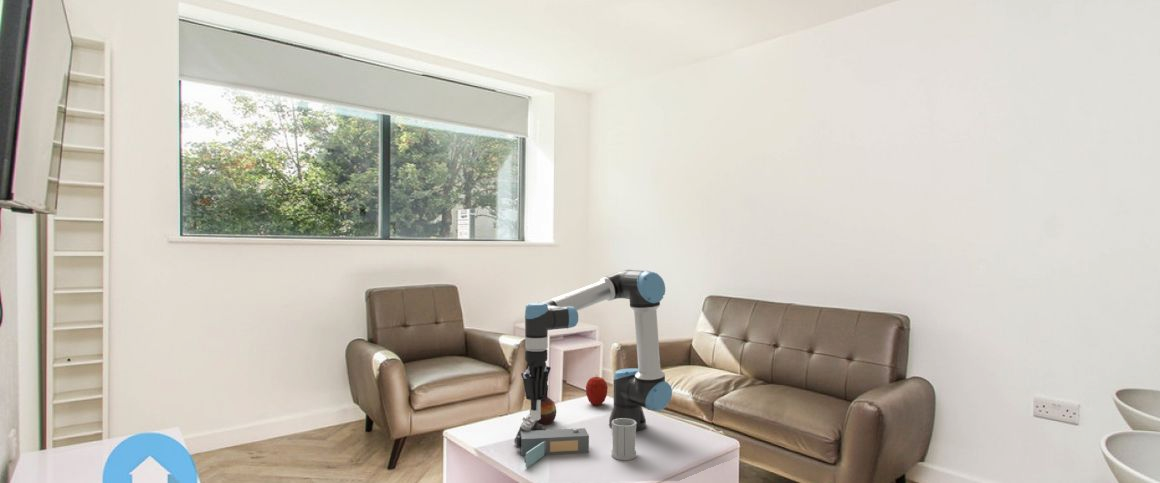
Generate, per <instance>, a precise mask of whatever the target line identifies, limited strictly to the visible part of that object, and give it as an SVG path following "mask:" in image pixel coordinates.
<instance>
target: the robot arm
mask: <svg viewBox="0 0 1160 483" xmlns="http://www.w3.org/2000/svg"><path fill="white" fill-rule="evenodd" d="M665 295H666V284H665V281H664V280H663V278H662V276H660V274H658V273H657V272H655V271H654V272H653V271H650V270H640V269H638V270H636V269H635V270H634V269H624V270H620V271H617V272H615V273H611V274H609V275H607V276H604V277H601V278H600V279H599V281H598V282H595V283H593V284H589V285H587V286H584V287H582V288H578V289H575V290H573V291H571V292H568V293H565V294H562V295H559V296H557V297H554V298H552V299H551V298H550V299H548V300H545V301H543V302H540V301H537V302H529V303H527V304H526V306H525V310H524V312H525V313H524V319H525V320H524V323H525V324H524V334H525V336H524V337H525V338H524V339H525V340H524V343H525V344H524V347H525V350H524V351H525V352H524V361H526V367H525V371H524V372H521V374H520V375H521V378H522V380H523V386H524V393H525V398H526V400H528V401H530V407H531V410H532V419H534V420H540V419H541V399H542V400H543V399H544V397H543V396H545V395H546V389H547V385H548V381H549V375H550V372H551V370H552V369H551V368H552V367H551V366H548V365H547V363H546V362H547V361H548V347H549V346H548V344H549V343H548V342H549V341H548V332H549V331H552V330H563V329H564V330H565V329H567V330H568V329H570V328H575V327H576V326H577V325H578V323H579V312H578V311H581V310H583V309H585V308H589V307H591V306H593V305H595V304H598V303H601V302H603V301H606V300H607V301H609V302H610V301H614V300H617V299H627V300H629V307H630V308H631V309H632V310H633V311H634V325H635V327H634V328H635V340H636V355H637V367H635V368H621V369H618V370H615V371H614V374H613V380H612V381H613V407H612V409H611V413H610V416H609V420H608V423H609V424H608V426H609V427H610V428H611V429H612V421H613V420H614V419H619V418H628V419H632V420H634V421H636V422H637V424H636V432H639V431H641V430H644V429H646V427H647V420H646V417H645V413H644V410H643V408H645V409H647V410H649V411H655V412H659V411H662V410H664V409H665V408H667V406H668V405H669V403H670V402H671V400H672V396H673V389H672V386H671V384H669V382H667V381H666V377H665V376H666V375H665V372H664V371H663V370H662V369H661V356H660V344H659V343H660V342H659V330H658V328H659V327H658V315H657V310H658V308H659V307H661V301H662V300H663V299H664V296H665ZM542 391H543V392H542Z"/></svg>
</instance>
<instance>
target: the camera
mask: <svg viewBox="0 0 1160 483" xmlns="http://www.w3.org/2000/svg"><path fill="white" fill-rule="evenodd" d="M521 421H522V423H521V425H520V426H519V429H518V431H517V434H516V436H520V434H521V431H536V430H547V427H546V426H544V425H542V424H539V423H538V422H537V421H538V420H534V419H532V411H531V412H530V411H529V413H528V414H527V415H526V417H522V419H521ZM516 436H515V437H514V440H513V443H514V444H516Z"/></svg>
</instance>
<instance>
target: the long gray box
mask: <svg viewBox="0 0 1160 483" xmlns="http://www.w3.org/2000/svg"><path fill="white" fill-rule="evenodd" d="M515 438H516V448H518V449H519V448H520V454H521V457H526V452H528V451H529V450H531V449H532V448H534V447H535V446H537V445H539V444H540V443H542V442H543V441H546V455H545V456H549V455H563V454H564V455H565V454H566V455H567V454H568V455H569V454H583V453H590V448H589V447H590V435H589V433H588V431H587V429H586V428H585V427H583V428H582V427H581V428H576V427H575V428H563V429H561V428H560V429H546V430H536V431H521V434H520V436H515Z"/></svg>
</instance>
